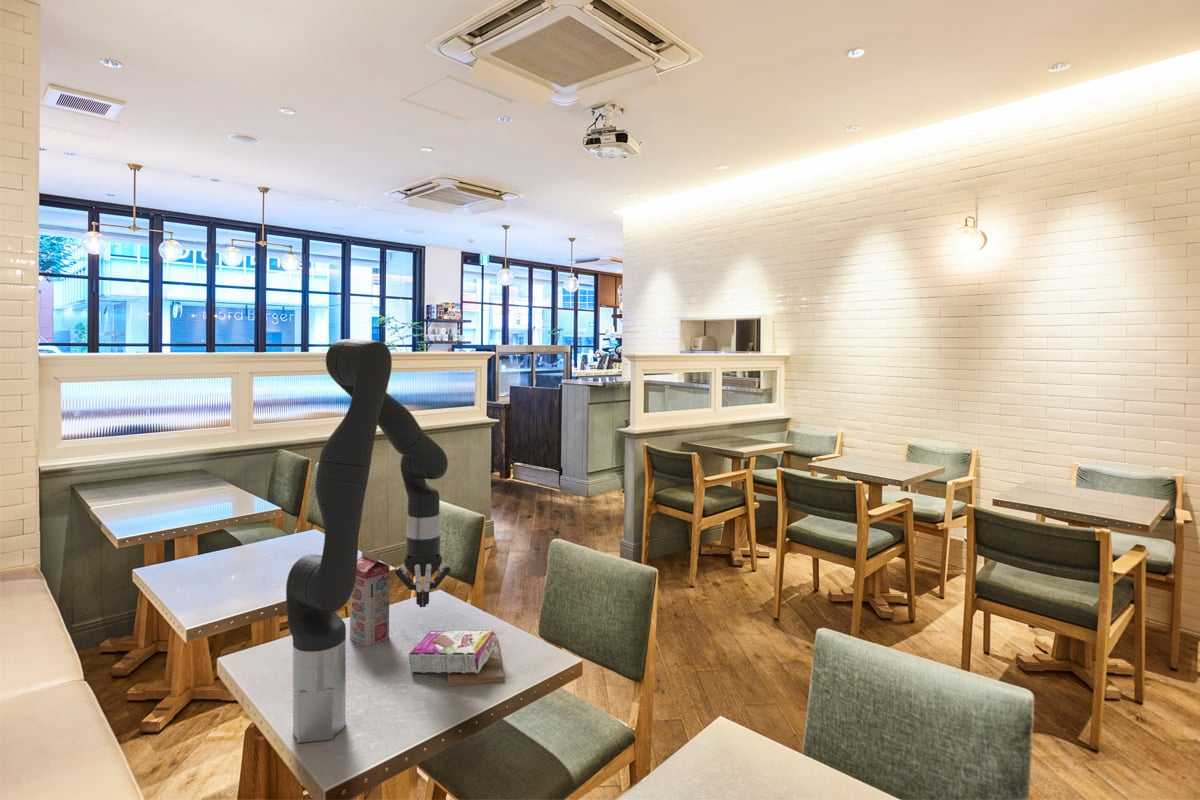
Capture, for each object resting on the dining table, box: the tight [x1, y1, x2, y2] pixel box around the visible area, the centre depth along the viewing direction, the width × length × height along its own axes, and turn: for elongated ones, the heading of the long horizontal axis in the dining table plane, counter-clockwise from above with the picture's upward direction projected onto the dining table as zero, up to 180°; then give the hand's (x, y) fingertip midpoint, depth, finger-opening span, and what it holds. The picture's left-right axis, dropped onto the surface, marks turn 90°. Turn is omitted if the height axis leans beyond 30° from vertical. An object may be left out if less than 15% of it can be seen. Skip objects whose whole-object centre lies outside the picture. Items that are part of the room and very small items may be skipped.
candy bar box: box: [408, 630, 496, 674], centre depth 147 cm, size 11×5×16 cm
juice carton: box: [349, 549, 391, 648], centre depth 160 cm, size 7×7×22 cm
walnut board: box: [447, 632, 505, 687], centre depth 151 cm, size 22×12×1 cm, turn 14°
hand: (422, 605), depth 149 cm, fingers closed
